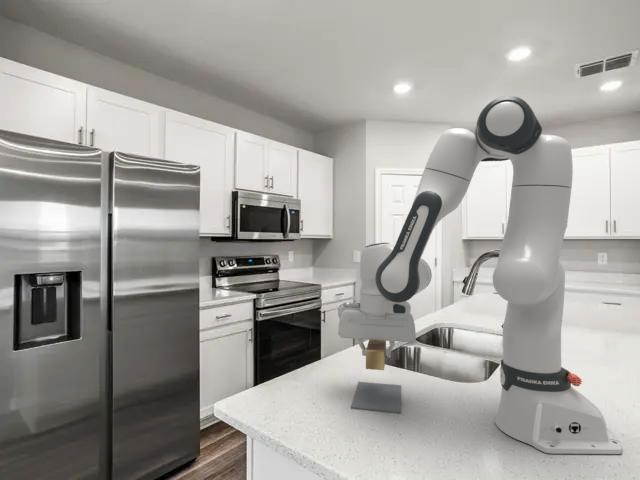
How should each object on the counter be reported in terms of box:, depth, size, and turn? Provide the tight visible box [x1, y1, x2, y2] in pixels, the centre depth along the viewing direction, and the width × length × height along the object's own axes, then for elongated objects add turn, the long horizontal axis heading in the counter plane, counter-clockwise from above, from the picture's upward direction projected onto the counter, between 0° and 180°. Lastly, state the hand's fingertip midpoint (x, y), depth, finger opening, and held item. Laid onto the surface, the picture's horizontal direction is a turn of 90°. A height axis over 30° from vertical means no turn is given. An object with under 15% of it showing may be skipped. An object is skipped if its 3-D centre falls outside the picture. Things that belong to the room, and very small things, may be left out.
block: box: [365, 340, 387, 371], centre depth 95 cm, size 4×4×12 cm
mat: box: [350, 381, 402, 414], centre depth 95 cm, size 12×16×1 cm
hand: (376, 356), depth 95 cm, fingers closed on block, 4 cm apart
